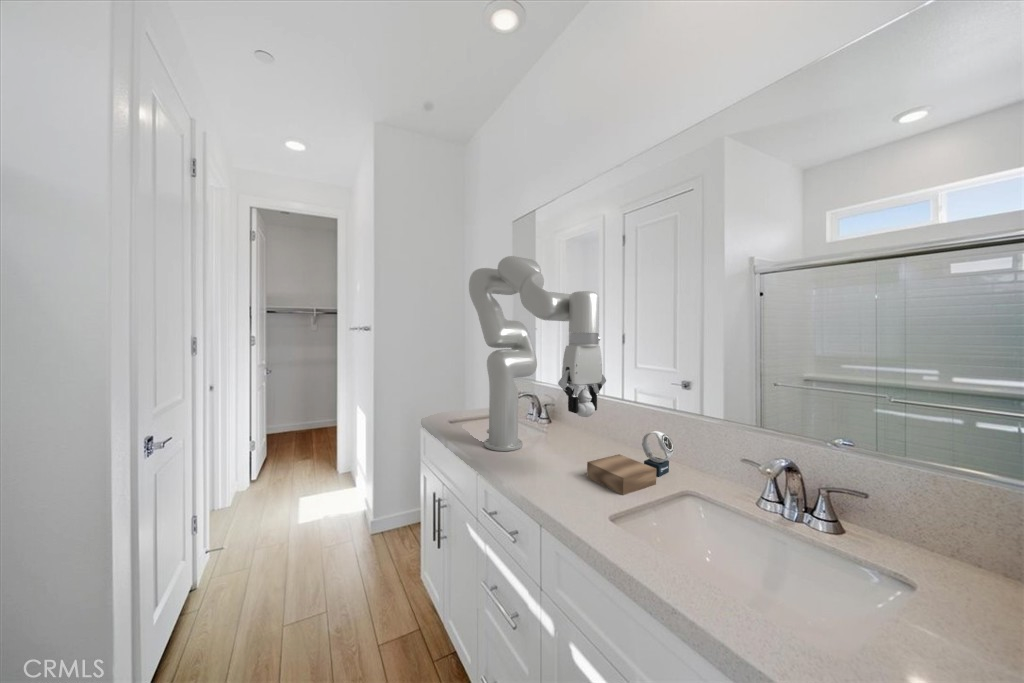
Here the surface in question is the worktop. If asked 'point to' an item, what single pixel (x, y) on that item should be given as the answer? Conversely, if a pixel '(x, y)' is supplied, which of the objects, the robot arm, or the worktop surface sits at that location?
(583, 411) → the rubber duck
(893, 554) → the worktop surface
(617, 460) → the walnut base
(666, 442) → the watch
